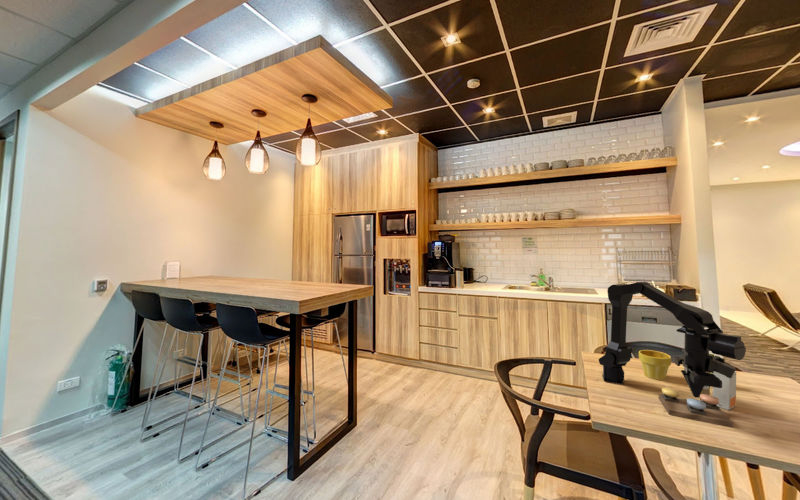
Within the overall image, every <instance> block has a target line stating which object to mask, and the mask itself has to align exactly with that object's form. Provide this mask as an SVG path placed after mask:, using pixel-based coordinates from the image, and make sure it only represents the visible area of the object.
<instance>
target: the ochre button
mask: <svg viewBox="0 0 800 500" xmlns="http://www.w3.org/2000/svg"><path fill="white" fill-rule="evenodd" d="M661 394H665V395H666V396H667V397H669V398H674V397H678V398H680V392H679V390H678V391H677V390H676V389H673V388H669V387H661Z"/></svg>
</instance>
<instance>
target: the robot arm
mask: <svg viewBox="0 0 800 500" xmlns="http://www.w3.org/2000/svg"><path fill="white" fill-rule="evenodd" d="M637 294H640V295H642V296H643V297H645V298H647V299H648V300H651V301H652V302H653V303H655V304H657V305H658V306H660V307H662V308H663V309H665V310H666V311H668V312H670V313H671V315H673V316H674V317H675V319H676V320H677V321H679V322H680V323H681V324H682V326H681V327H679V328H677V329H676V332H678V333H682V334H684V347H683V348H682V349H681V351H682V353H684V356H679V355H678V356H677V357H675V358H674V364H675V365H676V366H677V367H680V366H681V365H682V367H683V369H680V373H682V375H683V378H684V380H685V382H686V384H687V385H688V388H689V389H690V390H689V391H690V392H691V394H692V396H693V397H694V398H695V399H696V398H697V399H700V397H699V396H700V394H701V392H702V390H703V388H704V386H710V388H711V387H712V388H713V387H716V388H722V381H721V380H720V379H719V378H718V377H716V376H715V375H714V374H712V373H714V371H715V372H717V373H720V374H722V375H725V376H726V377H728V378H732V376H733V374H734V372H737V371H736V370H737V369H736V368H735V367H733V366H731V365H730V364H729V363H727V362H724V359H725V358H729V359H733V360H737V361H741V360H743V359H744V358H745V355H746V353H747V347H746V346H745V343H744V341H742V336H740V335H736V334H734V335H732V334H727V333H724V332H723V330H722V329H721V327H720V326H719V325H718V323H716V322H715V320H714V317H713V315H712V313H711V312H709V311H708V310H705V309H703V308H700V307H697V306H695V305H691V304H687V303H684V302H682V301H680V300H678V299H677V298H675V297H673V296H671V295H669V294H668V293H666V292H664V291H662V290H661V289H660V288H657V287H655V286H653V285H652V284H650V283H649V282H647V281H639V282H638V281H637V282H633V283H628V284H627V283H621V284H620V283H618V284H611V285H610V286H608V288H607V297H608V298H607V299H608V301H609V303H610V305H611V307H612V308H611V327H610V328H611V329H610V341H609V343H608V344H607V346H606V348H605V352H604V355H602V356H601V357H600V358H598V362H599V365H601V366H602V375H601V376H602V380H603V382H606V383H612V384H617V385H624V382H625V370H624V368H623V367H626V365H627V363H629V362H630V361H631V359H633V356H632V352H633V348H632V347H629V346H628V345H627V341H626V339H627V320H628V318H627V317H628V307H629V306H630V303H632V300H633V296H634V295H637ZM710 352H711V353H710ZM710 354H714V356H715V357H712V356H711V355H710ZM718 356H720V357H718ZM721 356H722V357H721ZM723 357H725V358H724V359H722V358H723ZM706 372H710V373H706Z"/></svg>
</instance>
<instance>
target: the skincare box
mask: <svg viewBox="0 0 800 500" xmlns="http://www.w3.org/2000/svg"><path fill="white" fill-rule="evenodd" d="M713 374H714V375H715V376H716V377H718V378H719V379H720V380H721V381H722V388H716V387H712V396H714V397H716V398H718V399H719V404H716V405H717V406H718V407H719V408H720V409H723V410H727V411H729V410H732V409H733V408H735V407H736V404H737V403H736V398H737V371H735V372H734V374H733V376H732V378H728V377H726V376H725V375H722V374H720V373H717V372H715V371H714V373H713Z"/></svg>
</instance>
